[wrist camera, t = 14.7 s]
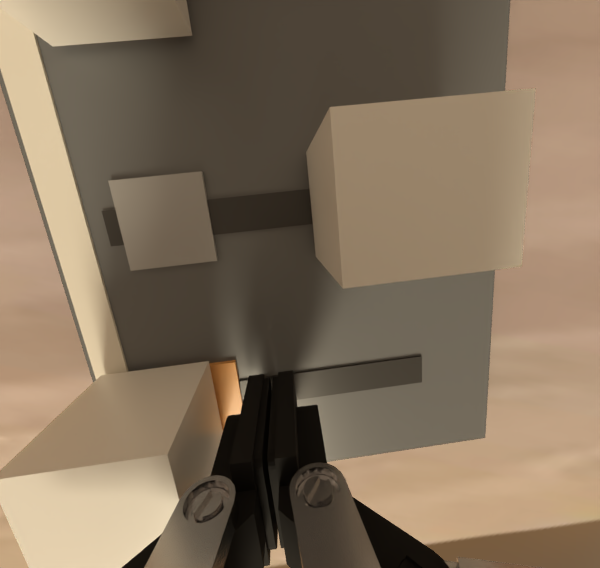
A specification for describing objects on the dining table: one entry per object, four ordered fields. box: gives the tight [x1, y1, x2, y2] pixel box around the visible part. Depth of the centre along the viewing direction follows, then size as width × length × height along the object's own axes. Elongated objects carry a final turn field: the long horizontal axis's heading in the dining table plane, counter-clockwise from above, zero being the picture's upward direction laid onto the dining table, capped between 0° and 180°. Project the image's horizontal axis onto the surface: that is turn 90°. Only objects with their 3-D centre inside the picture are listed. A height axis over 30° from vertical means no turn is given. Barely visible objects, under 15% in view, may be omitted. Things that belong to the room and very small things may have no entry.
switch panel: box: [0, 0, 510, 462], centre depth 11 cm, size 16×22×2 cm
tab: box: [306, 88, 536, 289], centre depth 8 cm, size 4×4×4 cm
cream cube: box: [0, 361, 223, 568], centre depth 10 cm, size 4×4×4 cm
